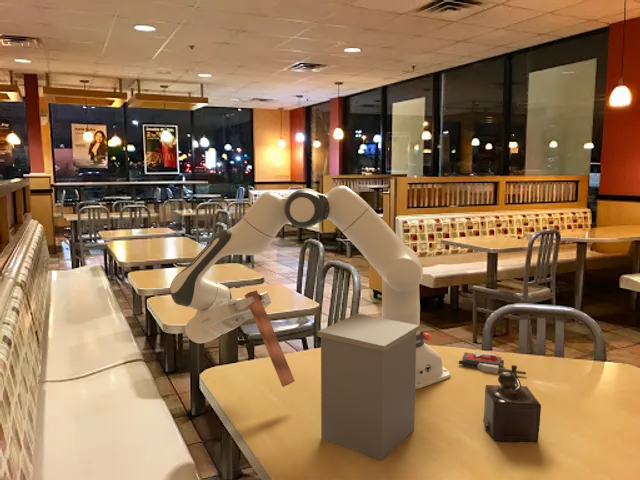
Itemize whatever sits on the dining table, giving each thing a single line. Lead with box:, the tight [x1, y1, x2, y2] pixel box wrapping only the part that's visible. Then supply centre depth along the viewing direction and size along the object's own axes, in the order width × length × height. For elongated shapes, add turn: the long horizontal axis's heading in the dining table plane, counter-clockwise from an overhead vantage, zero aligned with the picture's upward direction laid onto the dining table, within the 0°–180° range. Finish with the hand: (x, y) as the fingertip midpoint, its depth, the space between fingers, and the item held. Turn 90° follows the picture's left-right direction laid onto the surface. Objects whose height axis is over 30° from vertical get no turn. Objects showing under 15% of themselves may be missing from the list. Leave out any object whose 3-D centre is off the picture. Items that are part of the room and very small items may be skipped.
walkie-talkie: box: [458, 351, 527, 375], centre depth 163 cm, size 9×4×20 cm
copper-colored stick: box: [244, 290, 295, 387], centre depth 139 cm, size 26×3×2 cm
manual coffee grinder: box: [482, 364, 542, 443], centre depth 121 cm, size 16×11×18 cm
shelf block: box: [317, 313, 420, 461], centre depth 122 cm, size 17×17×26 cm
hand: (257, 297), depth 139 cm, fingers closed on copper-colored stick, 3 cm apart
